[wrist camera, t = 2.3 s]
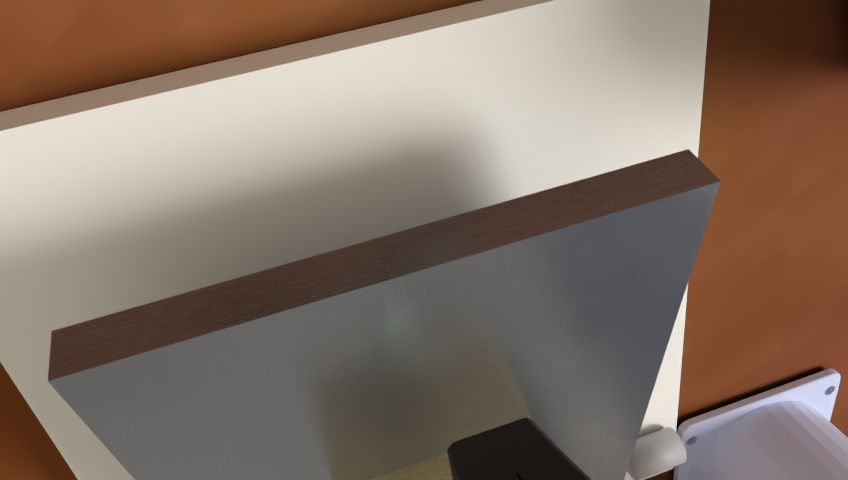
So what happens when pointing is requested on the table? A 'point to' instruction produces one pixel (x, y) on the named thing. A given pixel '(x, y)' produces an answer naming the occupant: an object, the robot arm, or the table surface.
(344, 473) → the plate
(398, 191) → the base board
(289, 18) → the table surface
